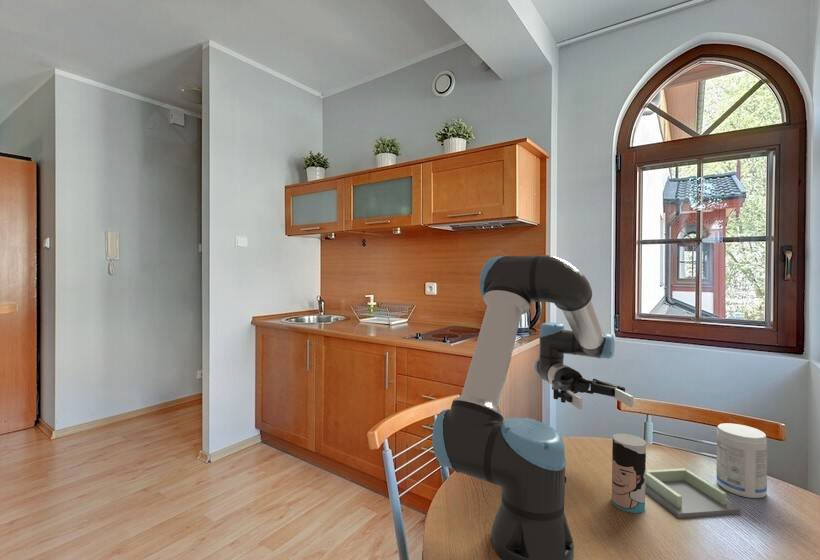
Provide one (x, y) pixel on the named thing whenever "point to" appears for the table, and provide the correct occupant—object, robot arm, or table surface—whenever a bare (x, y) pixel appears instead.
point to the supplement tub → (742, 460)
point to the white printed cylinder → (628, 472)
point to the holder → (687, 494)
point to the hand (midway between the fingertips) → (606, 402)
